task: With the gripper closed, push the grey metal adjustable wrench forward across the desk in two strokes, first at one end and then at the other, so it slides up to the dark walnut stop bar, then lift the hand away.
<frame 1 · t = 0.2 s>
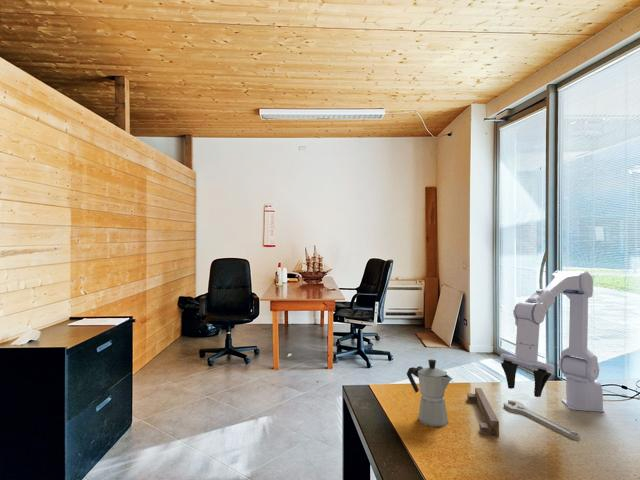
hand: (523, 392, 111), 10 cm above the table, tool pointing down, fingers open, 7 cm apart
coffee maker: (429, 420, 117), on the table
adjustable wrench: (536, 422, 116), on the table
walnut stop bar: (485, 415, 119), on the table
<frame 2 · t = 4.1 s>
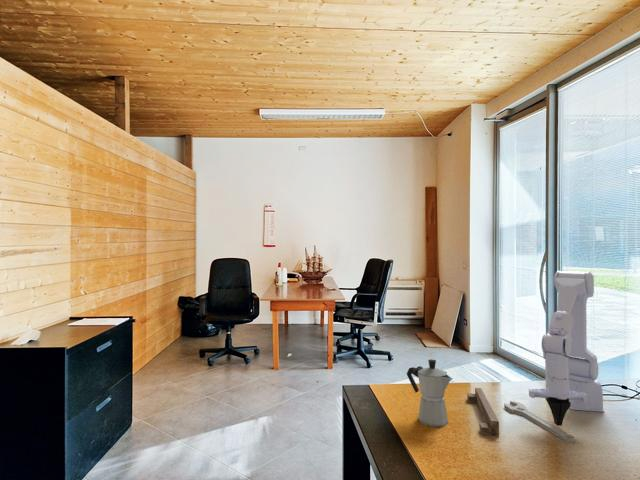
hand: (558, 424, 111), 1 cm above the table, tool pointing down, fingers closed
adjustable wrench: (534, 423, 115), on the table
everything else where it was.
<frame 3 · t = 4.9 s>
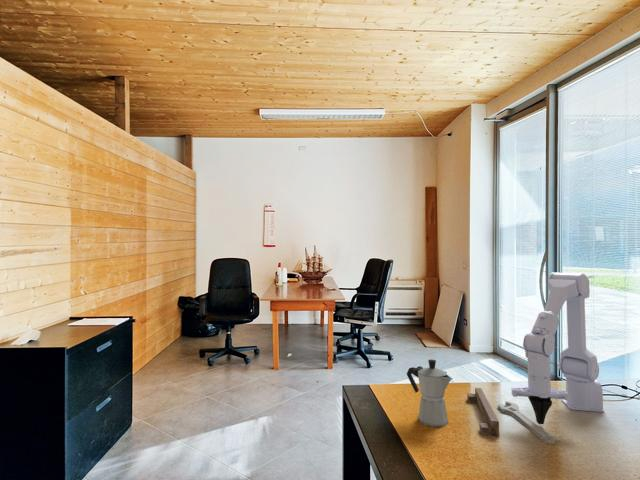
hand: (540, 422, 112), 1 cm above the table, tool pointing down, fingers closed
adjustable wrench: (522, 424, 115), on the table, touching gripper
everything else where it was.
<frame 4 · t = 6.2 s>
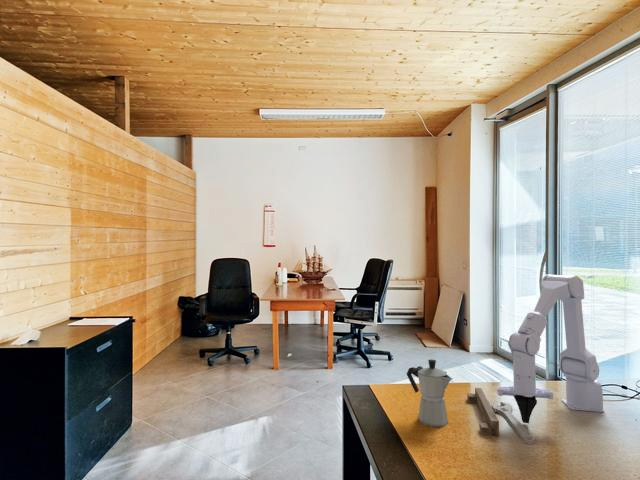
hand: (525, 421, 113), 1 cm above the table, tool pointing down, fingers closed
adjustable wrench: (510, 424, 115), on the table
everything else where it was.
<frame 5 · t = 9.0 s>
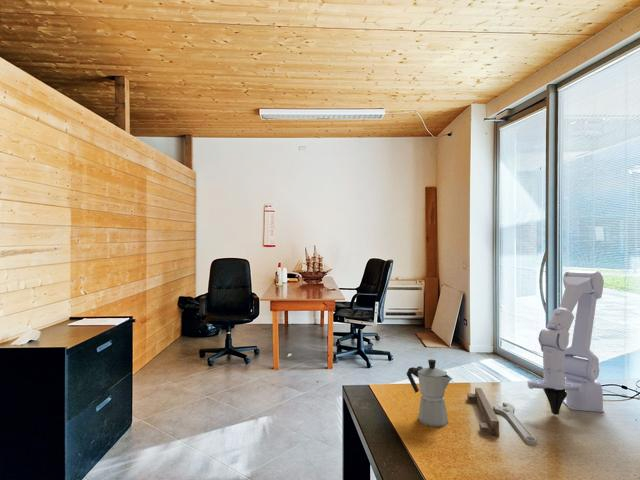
hand: (555, 413, 119), 1 cm above the table, tool pointing down, fingers closed
nothing on the table moved.
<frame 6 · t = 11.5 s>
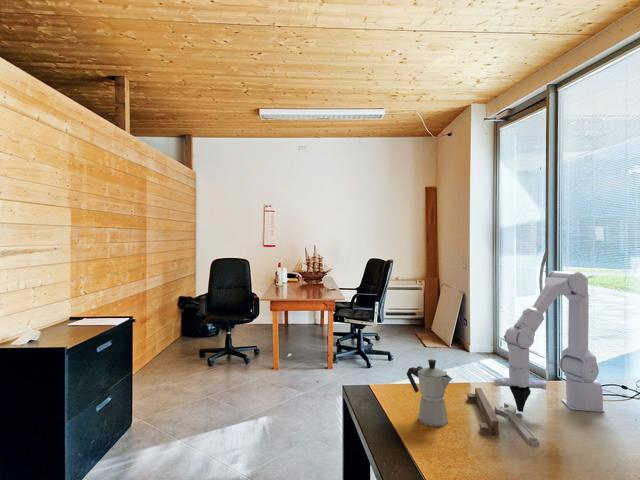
hand: (519, 410, 121), 1 cm above the table, tool pointing down, fingers closed
adjustable wrench: (514, 425, 114), on the table, touching gripper
everything else where it was.
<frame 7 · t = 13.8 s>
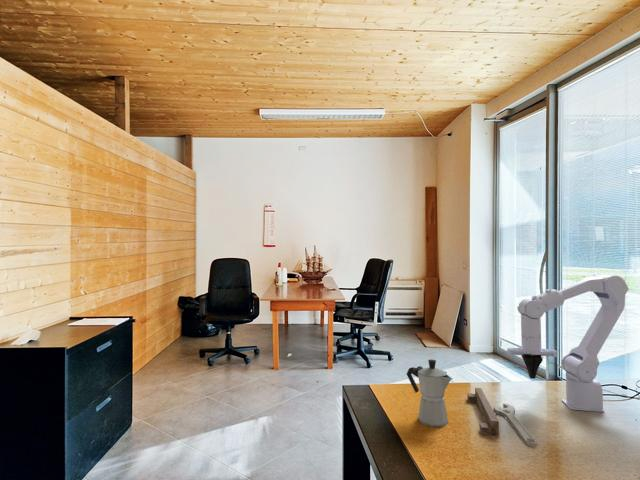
hand: (532, 377, 128), 9 cm above the table, tool pointing down, fingers closed
adjustable wrench: (512, 426, 114), on the table
everything else where it was.
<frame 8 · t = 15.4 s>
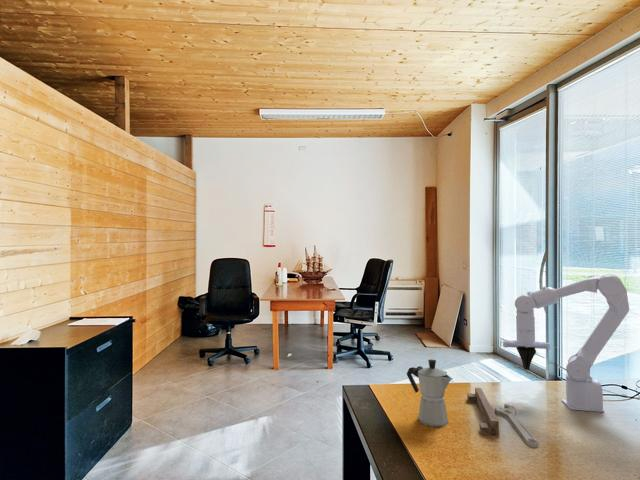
hand: (526, 368, 135), 9 cm above the table, tool pointing down, fingers closed
nothing on the table moved.
at the end: adjustable wrench inside the target area (4.3 cm from its centre), on the table; adjustable wrench moved 8.6 cm from its start; adjustable wrench tilted 0° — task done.
